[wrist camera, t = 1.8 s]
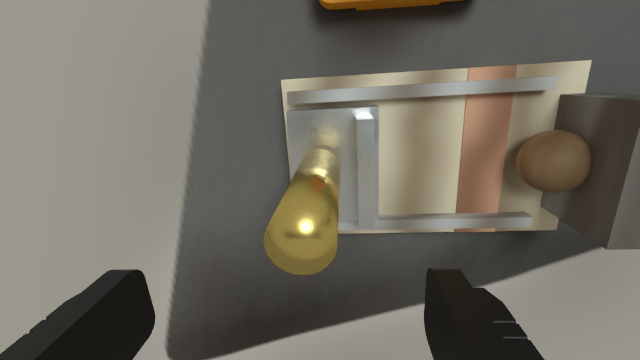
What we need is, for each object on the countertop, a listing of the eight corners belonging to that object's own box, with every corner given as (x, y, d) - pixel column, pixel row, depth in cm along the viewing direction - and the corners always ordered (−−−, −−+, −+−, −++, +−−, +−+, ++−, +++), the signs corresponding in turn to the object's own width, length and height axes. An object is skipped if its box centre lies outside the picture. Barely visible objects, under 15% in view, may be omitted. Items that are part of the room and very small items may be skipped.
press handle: (376, 104, 21) (412, 133, 10) (376, 211, 23) (405, 329, 12) (289, 109, 21) (233, 141, 10) (299, 213, 24) (261, 327, 13)
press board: (577, 61, 21) (708, 51, 13) (546, 218, 25) (636, 279, 17) (286, 79, 23) (257, 80, 15) (299, 223, 27) (281, 280, 19)
